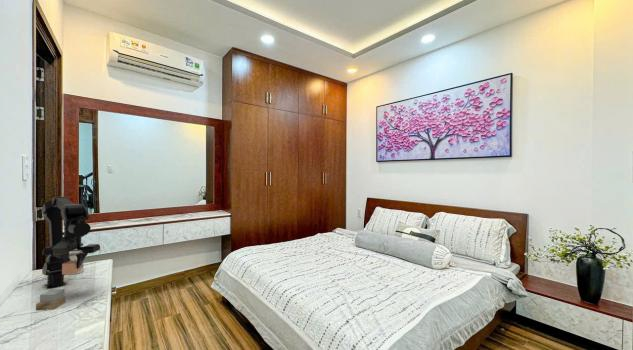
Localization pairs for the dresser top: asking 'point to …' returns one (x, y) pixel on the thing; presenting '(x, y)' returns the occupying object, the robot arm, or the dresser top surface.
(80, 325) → the dresser top surface
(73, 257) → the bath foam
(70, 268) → the terracotta cube
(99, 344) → the dresser top surface
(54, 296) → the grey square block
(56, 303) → the walnut base block
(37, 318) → the dresser top surface
